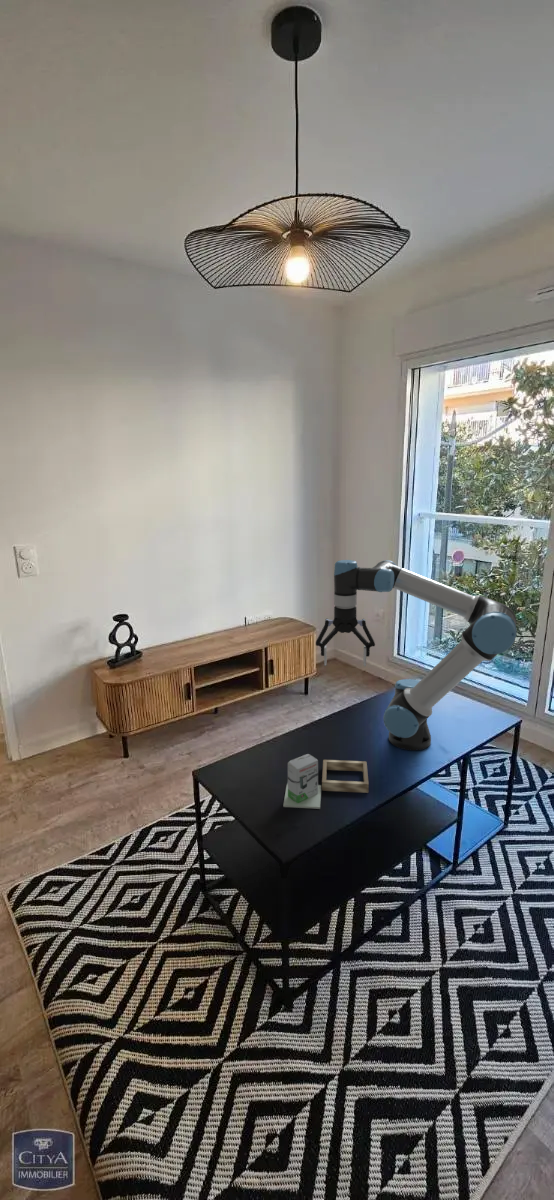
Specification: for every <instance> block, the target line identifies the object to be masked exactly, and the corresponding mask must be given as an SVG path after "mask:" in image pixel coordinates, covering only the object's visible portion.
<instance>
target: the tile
mask: <svg viewBox="0 0 554 1200" xmlns="http://www.w3.org/2000/svg"><path fill="white" fill-rule="evenodd" d="M321 799H322V784H318V794H316V795H314V796H311V797H309V798H307V799H305V800H303V801H301V802H299V803H296V802H295V801H293V800H292V799H291V798H290V797H288V783H286V786H285V794H284V800H283V804H282V805H283V808H295V809H296V808H297V809H298V808H299V809H315V810H316V809H317V810H321V802H322V801H321Z"/></svg>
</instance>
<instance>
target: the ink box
mask: <svg viewBox="0 0 554 1200" xmlns="http://www.w3.org/2000/svg"><path fill="white" fill-rule="evenodd" d="M287 784H288V797H290V798H291V799H292V800H293V801H295V802H296V803H299V802H301V801H303V800H305V799H307V798H309V797H311V796H314V795H316V794H318V785H319V760H318V759H317V758H316V757H314V756H313V755H311V754H309V753H307V754H303V755H302V756H299V757H296V758H293V759H291V760H289V761H288V762H287Z"/></svg>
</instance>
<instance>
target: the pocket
mask: <svg viewBox="0 0 554 1200" xmlns="http://www.w3.org/2000/svg"><path fill="white" fill-rule="evenodd" d="M367 764H368V763H367V761H365V760H363V761H360V760H342V759H341V760H339V759H323V760H322V775H321V777H322V778H321V792H322V791H323V792H324V791H326V792H345V793H346V792H347V793H362V794H363V793H364V794H365V793H367V794H368V793H369V789H370V788H369V785H370V784H369V776H368V775H369V774H368V765H367ZM327 771H344V772H345V771H349V772H350V771H351V772H362V776H363V778H362V780H363V781H356V780H355V781H354V780H334V779H333V780H331V779H327V775H328V773H327Z"/></svg>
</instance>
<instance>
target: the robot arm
mask: <svg viewBox="0 0 554 1200" xmlns="http://www.w3.org/2000/svg"><path fill="white" fill-rule="evenodd" d="M357 562H358V561H356V560H354V559H353V560H352V559H341V560H338V561H336V562H335V564H334V568H333V569H334V573H333V578H334V579H333V582H334V583H333V584H334V592H333V593H334V595H333V599H334V600H333V601H334V602H333V604H334V608H333V619H329V618H325V621H324V625H323V626H322V627H323V628H322V630H321V632H320V633H319V635H318V637H317V638H316V641H315V646H316V647H320V655H321V657H323V659H324V660H323V663H324V664H323V666H324V667H325V666H327V660H328V659H327V647H328V646H327V644H328V643H329V642H330V641H331V640H332V639H333V638H334V637H335V636H336V635H337V634H338V633H340V634H344V633H345V634H350V633H352V634H354V636H355V637H357V638H358V640H359V641H360V642H361V644H363V660H362V662H363V667H367V657H370V649H371V647H375V646H376V642H375V640H374V638H373V636H372V633H371V632H370V631H369V629H368V625H367V622H366V619H365V618H361V619H357V598H358V597H357V594H358V593H357V592H358V591H368V592H377V593H389V592H390V593H391V591H392V590H394V589H395V590H398V591H399V592H403V593H404V594H407V595H409V596H412V597H414V598H417V599H419V600H422V601H424V602H427V603H429V604H432V605H434V606H436V607H438V608H441V609H443V610H446V611H449V612H451V613H453V614H456V615H458V616H461V617H463V618H464V619H465V621H466V622H467V623H470V625H468V627H467V628H466V629H465V630H463V632H462V633H461V641H460V642H459V643H458V644H457V645H455V647H454V648H452V649H451V650H450V651H449V653H448V654H446V655H445V656H444V657H443V658H442V659H440V660H439V662H438V663H437V664H436V665H435V666H434V667H433V668H432V669H431V670H430V671H429V672H427V674H425V676H424V677H422V679H420V680H418V679H413V678H412V679H409V678H408V679H407V678H406V679H399V680H397V681H396V682H395V684H394V694H393V697H392V699H391V701H390V702H389V703H388V706H387V707H386V709H385V710H384V714H383V724H384V727H386V730H388V741H389V742H390V743H391V744H392V745H393V746H394V747H396V748H398V749H401V750H406V751H422V750H425V749H427V748H429V747H430V746H431V743H432V735H431V732H430V729H429V725H428V718H429V717H431V716H432V715H433V707H435V705H436V704H438V703H439V702H440V700H443V698H444V697H445V696H446V695H447V694H449V692H451V691H452V690H453V689H454V688H455V687H456V686H457V685H458V684H459V683H460V682H462V681H463V680H464V679H465V678H466V677H467V676H468V675H469V674H470V673H471V672H472V671H473V670H474V669H475V668H476V667H478V666H479V665H480V664H481V663H482V662H483V661H492V660H494V658H496V656H497V655H498V654H499V655H500V654H502V653H504V652H507V650H509V649H510V648H511V647H512V646H513V644H514V642H515V641H516V638H517V633H518V632H517V617H516V615H515V612H514V611H513V610H512V609H511V607H509V606H508V605H506V604H504V603H502V602H499V601H497V600H494V599H491V598H488V597H486V596H483V595H480V594H478V595H477V594H476V595H471V594H469V593H468V592H464V591H462V590H459V589H456V588H455V587H452V586H449V585H447V584H443V583H441V582H439V581H437V580H434V579H431V578H428V577H426V576H423V575H420V574H418V573H415V572H413V571H410V570H408V569H406V568H403V567H401V566H399V565H397V564H396V562H394V561H392V560H389V559H386V560H381V561H380V562H378V563H376V565H374V566H373V567H360V566H358V563H357ZM331 625H333V626H334V628H332V629H331V631H330V633H328V635H327V636H326V637H325V635H326V632H327V631H328V628H329V627H330V626H331ZM358 625H359V626H360V627H362V629H363V631H364V633H365V636H366V638H367V639H368V640H367V639H366V638H365V637H364V636H363V635H362V634H361V632H360V631H359V629H357V626H358ZM324 637H325V638H324ZM323 638H324V639H323Z"/></svg>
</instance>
